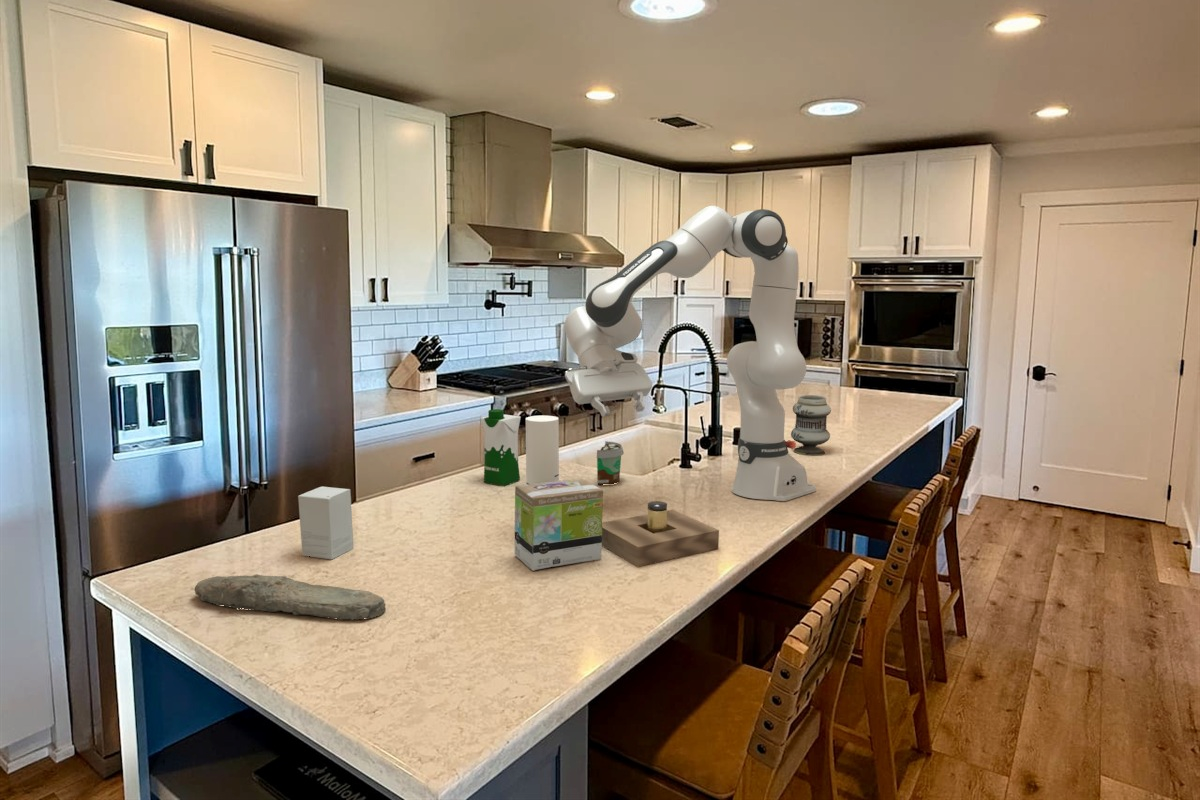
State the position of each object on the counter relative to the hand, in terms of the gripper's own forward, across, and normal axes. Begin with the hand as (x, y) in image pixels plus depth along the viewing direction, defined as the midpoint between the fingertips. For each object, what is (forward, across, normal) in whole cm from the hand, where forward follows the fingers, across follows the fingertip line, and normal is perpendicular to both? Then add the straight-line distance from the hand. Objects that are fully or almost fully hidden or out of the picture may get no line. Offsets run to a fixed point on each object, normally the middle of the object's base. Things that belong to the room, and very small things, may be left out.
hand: (624, 412), depth 173 cm
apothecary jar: (+1, +88, +37) cm, 95 cm away
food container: (-2, +14, +38) cm, 40 cm away
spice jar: (+31, -5, +4) cm, 32 cm away
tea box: (+28, -26, +7) cm, 39 cm away
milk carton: (-13, -12, +48) cm, 51 cm away
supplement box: (+8, -64, +25) cm, 70 cm away
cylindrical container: (+16, -20, +19) cm, 32 cm away
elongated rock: (+24, -76, +9) cm, 80 cm away
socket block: (+31, -5, +4) cm, 32 cm away
